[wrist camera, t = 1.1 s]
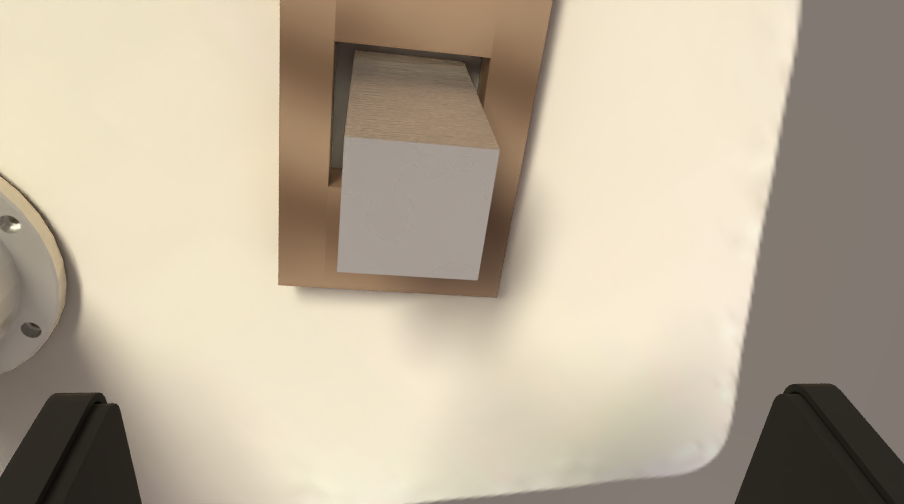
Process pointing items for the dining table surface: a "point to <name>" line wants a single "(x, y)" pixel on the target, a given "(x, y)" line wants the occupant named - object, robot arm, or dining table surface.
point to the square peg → (414, 169)
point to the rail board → (312, 104)
